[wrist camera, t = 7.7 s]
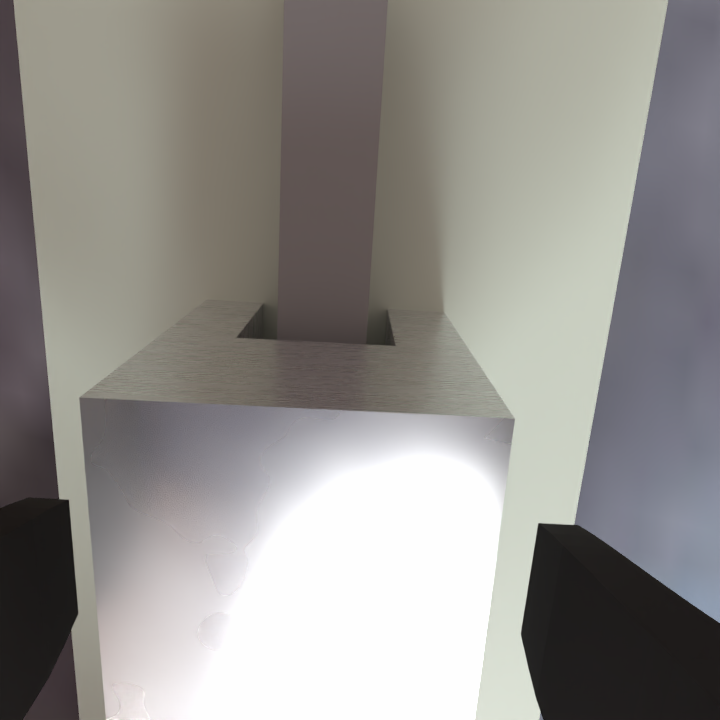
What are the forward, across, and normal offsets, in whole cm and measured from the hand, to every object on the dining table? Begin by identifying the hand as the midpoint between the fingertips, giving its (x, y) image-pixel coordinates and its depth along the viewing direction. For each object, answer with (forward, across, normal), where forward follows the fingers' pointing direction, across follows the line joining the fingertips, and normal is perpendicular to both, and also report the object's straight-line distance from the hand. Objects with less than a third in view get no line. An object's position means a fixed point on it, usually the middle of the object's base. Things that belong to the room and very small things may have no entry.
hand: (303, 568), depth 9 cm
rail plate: (+6, 0, -1) cm, 6 cm away
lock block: (+4, 0, 0) cm, 5 cm away
